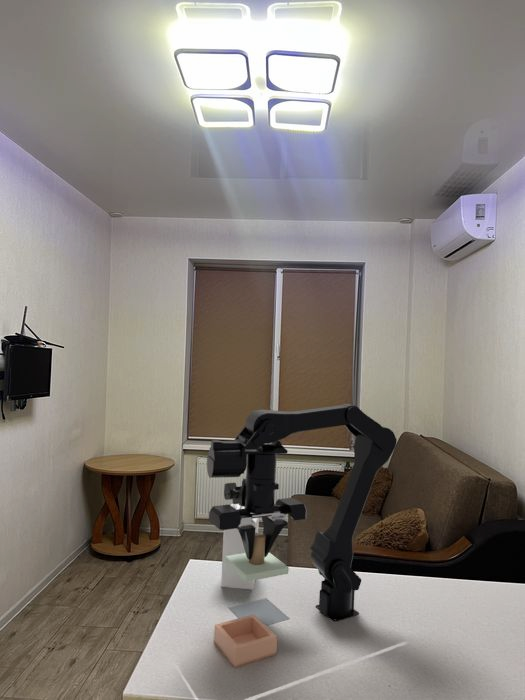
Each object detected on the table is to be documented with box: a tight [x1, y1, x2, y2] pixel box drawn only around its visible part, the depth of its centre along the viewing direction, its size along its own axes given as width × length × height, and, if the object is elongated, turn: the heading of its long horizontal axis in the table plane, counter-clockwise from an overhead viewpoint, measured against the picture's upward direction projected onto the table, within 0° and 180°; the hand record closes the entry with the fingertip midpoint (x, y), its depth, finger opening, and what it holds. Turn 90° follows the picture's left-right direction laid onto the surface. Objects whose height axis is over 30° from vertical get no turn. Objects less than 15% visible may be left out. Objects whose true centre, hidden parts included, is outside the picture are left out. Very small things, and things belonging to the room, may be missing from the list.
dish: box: [213, 614, 278, 669], centre depth 84 cm, size 8×8×4 cm
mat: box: [227, 597, 291, 627], centre depth 96 cm, size 9×9×1 cm
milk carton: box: [220, 503, 260, 590], centre depth 110 cm, size 7×7×19 cm
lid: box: [225, 532, 290, 582], centre depth 93 cm, size 9×9×6 cm
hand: (256, 557), depth 93 cm, fingers closed on lid, 3 cm apart
